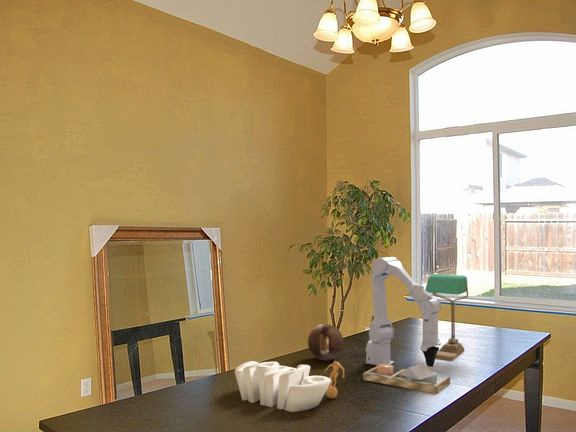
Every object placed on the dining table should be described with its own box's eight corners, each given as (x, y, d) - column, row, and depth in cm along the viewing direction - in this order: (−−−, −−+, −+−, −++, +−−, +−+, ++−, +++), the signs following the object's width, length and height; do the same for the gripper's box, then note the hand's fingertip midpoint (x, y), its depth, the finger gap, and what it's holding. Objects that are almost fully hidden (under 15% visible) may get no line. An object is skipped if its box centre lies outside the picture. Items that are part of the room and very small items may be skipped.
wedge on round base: (419, 389, 186) (441, 382, 194) (419, 370, 186) (441, 363, 194) (399, 383, 193) (421, 376, 201) (399, 364, 193) (420, 358, 201)
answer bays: (363, 379, 197) (363, 372, 197) (379, 370, 209) (379, 364, 209) (436, 393, 181) (436, 385, 181) (450, 383, 193) (450, 375, 193)
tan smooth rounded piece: (374, 378, 199) (374, 366, 199) (381, 374, 204) (381, 362, 204) (389, 381, 196) (389, 368, 196) (395, 377, 200) (395, 365, 201)
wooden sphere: (317, 353, 236) (317, 320, 236) (348, 358, 229) (348, 323, 229) (301, 361, 223) (301, 325, 223) (335, 366, 215) (334, 329, 216)
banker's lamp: (472, 352, 238) (472, 274, 239) (460, 362, 221) (460, 278, 221) (437, 347, 247) (437, 272, 247) (423, 357, 229) (422, 276, 230)
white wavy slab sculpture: (222, 395, 180) (222, 364, 180) (254, 383, 193) (254, 354, 193) (307, 418, 159) (307, 382, 159) (336, 403, 172) (336, 370, 172)
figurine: (318, 396, 178) (318, 360, 178) (329, 392, 182) (329, 357, 183) (337, 402, 172) (337, 365, 172) (348, 397, 177) (348, 361, 177)
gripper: (433, 335, 194) (433, 372, 194) (447, 328, 206) (447, 363, 206) (415, 332, 198) (415, 369, 198) (429, 326, 210) (429, 360, 210)
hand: (430, 366), depth 202 cm, fingers closed
